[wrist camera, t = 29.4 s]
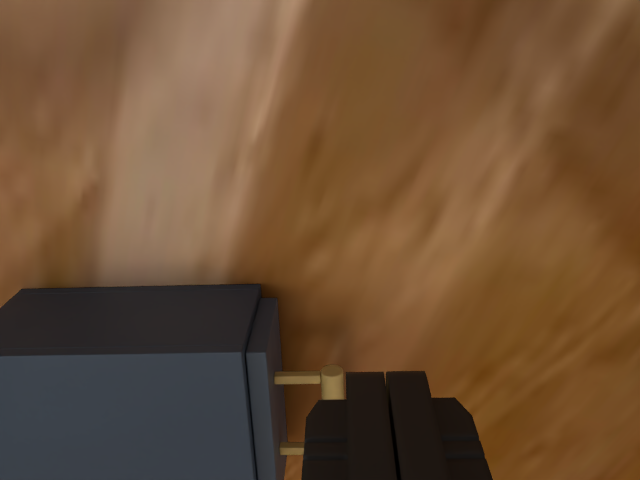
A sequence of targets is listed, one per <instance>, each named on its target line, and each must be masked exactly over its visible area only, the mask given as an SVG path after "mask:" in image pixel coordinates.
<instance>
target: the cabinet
mask: <svg viewBox="0 0 640 480" xmlns="http://www.w3.org/2000/svg"><path fill="white" fill-rule="evenodd" d="M260 298H262V297H261V285H260V284H236V285H189V286H142V287H95V288H48V289H21V290H20V291H19V292H18V293H17V294H16V295H14V296H13V297H12V298H11V299H10V300H9V301H8V302H7V303H6V304H4V305H3V306H2V307H1V308H0V480H257V471H256V461H255V450H254V440H253V439H252V435H253V430H252V428H251V425H252V419H251V418H250V415H251V409H250V408H249V405H250V399H249V397H248V394H249V388H248V387H247V384H248V378H247V377H246V374H247V368H246V367H245V363H246V357H245V352H246V348H247V344H248V341H249V337H250V333H251V329H252V326H253V322H254V318H255V314H256V311H257V307H258V303H259V299H260Z"/></svg>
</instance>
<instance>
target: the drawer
mask: <svg viewBox="0 0 640 480" xmlns="http://www.w3.org/2000/svg"><path fill="white" fill-rule="evenodd" d="M245 357H246V363H245V367H246V368H247V374H246V377H247V378H248V384H247V387H248V388H249V394H248V397H249V399H250V405H249V408H250V409H251V415H250V418H251V419H252V425H251V428H252V430H253V435H252V439H253V440H254V450H255V461H256V471H257V480H284V475H285V466H286V458H287V455H303V454H304V443H305V442H288V441H287V427H286V413H285V399H284V385H283V384H320V383H321V391H322V400H330V399H344V378H343V369H342V368H341V367H340V366H338V365H326V366H324V367H323V368H322V369H321V371H282V357H281V343H280V329H279V315H278V301H277V298H260V299H259V303H258V307H257V311H256V314H255V318H254V322H253V326H252V329H251V333H250V337H249V341H248V344H247V348H246V352H245Z"/></svg>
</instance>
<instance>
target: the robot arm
mask: <svg viewBox="0 0 640 480" xmlns="http://www.w3.org/2000/svg"><path fill="white" fill-rule="evenodd" d="M346 396H347V399H330V400H318V402H317V403H316V404H315V406H314V407H313V409H312V410H311V412H310V413H309V415H308V416H307V417H306V428H305V443H304V454H303V467H302V480H493V479H492V476H491V473H490V470H489V467H488V464H487V461H486V459H485V457H484V451H483V448H482V445H481V442H480V441H479V436H478V433H477V430H476V427H475V424H474V421H473V417H472V415H471V414H470V413H469V412H468V411H467V410H466V409H465V408H464V407H463V406H462V405H461V404H460V403H459V402H458V401H457V400H456V398H431V393H430V389H429V385H428V381H427V377H426V373H425V371H391V372H386V386H385V378H384V372H346Z"/></svg>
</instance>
